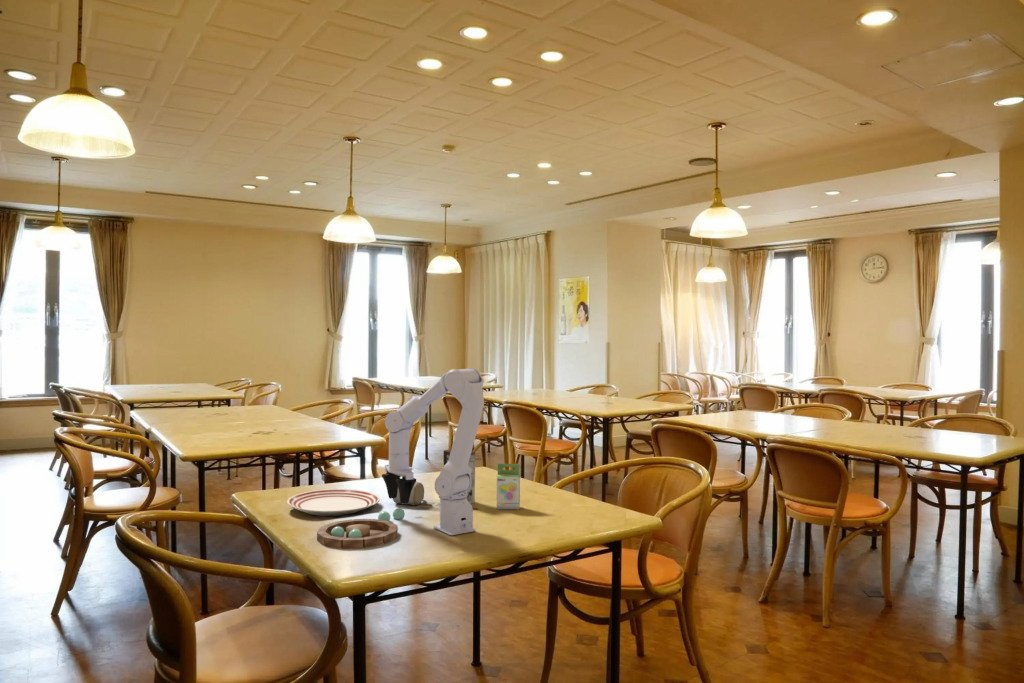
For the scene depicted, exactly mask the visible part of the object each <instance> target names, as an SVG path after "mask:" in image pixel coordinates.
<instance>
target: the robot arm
mask: <svg viewBox="0 0 1024 683" xmlns="http://www.w3.org/2000/svg"><path fill="white" fill-rule="evenodd" d="M484 382H485V380H484V378H483V376H482V375H481V373H480V372H479V370H478V369H476V368H473V367H468V368H461V369H460V368H459V369H456V368H452V369H450V370H448V371H447V372H446V373H444V374H443V375H441V377H440V378H439V379H438V380H437V381H436V382H435V383H434V384H433V385H431V387H430V388H428V389H427V390H426V391H425V392H424V393H422V395H421V396H420V395H413V396H412V395H411V396H409V397H408V398H407V399H408V401H407V402H406V403H404V404H403V405H400V406H398V407H397V410H396V411H390V412H388V413H387V415H386V416H385V418H384V426H385V428H386V430H387V431H388V464H384V472H385V473H382V474H381V477H382V479H383V481H384V483H385V487H386V490H387V495H388V499H393V498H396V497H397V492H398V488H399V495H400V502H401V505H407V504H406V503H408V502H409V498H410V494H411V491H412V488H413V486H414V484H415V483H416V481H417V478H414V475H415V474H414V472H413V471H412V470H413V467H411V466H410V435H411V430H412V428H413V427H414V423H415V422H416V421H418V420H419V419H420V418H422V417H423V416H425V415H426V414H427V413H428V411H429V406H430V405H431V404H433V403H435V402H436V401H437V400H438V399H440V398H441V397H443V396H444V395H446V394H447V393H448V392H449V393H450V394H451V395H452V396H453V397H454V398H455V399H456V400H457V401H458V402H459V403H460V405H461V407H462V408H461V411H460V415H459V419H458V423H457V426H456V430H455V434H454V439H453V442H452V445H451V449H450V450H451V453H450V457H449V460H448V462H447V463H446V464H445V465H444V464H443V467H442V468H441V469H440V472H439V475H438V476H437V477H436V478H435V481H434V491H435V493H436V494H437V495H438V499H439V524H437V525H433V529H436V530H438V531H440V532H442V533H444V534H446V535H448V536H455V535H461V534H462V535H463V534H466V533H467V534H468V533H471V532H473V533H474V532H476V528H474V526H473V525H474V523H473V521H474V519H473V518H474V515H473V514H474V510H473V506H472V503H469V502H468V501H467V498H466V495H467V491H468V490H469V489H470V487H471V472H472V469H471V468H470V467H469V465H468V463H469V459H470V456H471V452H473V448H474V444H475V440H476V436H477V432H478V429H479V424H480V421H481V417H482V414H483V411H484V407H485V399H484V391H483V386H484Z"/></svg>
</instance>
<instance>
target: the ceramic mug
mask: <svg viewBox="0 0 1024 683" xmlns="http://www.w3.org/2000/svg"><path fill="white" fill-rule="evenodd" d="M424 498H425V487H424V485H423V483H422V482H419V481H417V480H416V483H415V484H414V486H413V488H412V491H411V494H410V498H409V502H408V503H406V504H405V505H410V506H417V505H419V504H421V503H422V501H424ZM392 501H393V502H394V503H395V504H401V502H400V495H399V488H398V492H397V497H396V498H392ZM401 505H402V504H401Z"/></svg>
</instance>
